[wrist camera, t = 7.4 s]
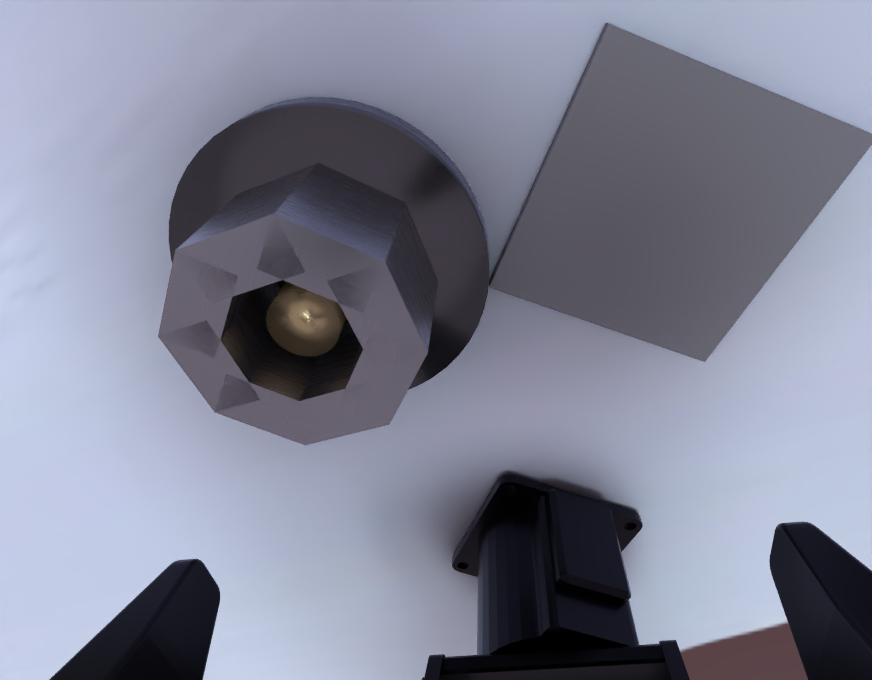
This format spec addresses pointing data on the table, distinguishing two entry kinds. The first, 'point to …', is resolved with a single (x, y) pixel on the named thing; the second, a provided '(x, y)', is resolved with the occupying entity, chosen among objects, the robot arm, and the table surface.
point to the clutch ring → (314, 271)
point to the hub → (370, 164)
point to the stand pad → (671, 196)
